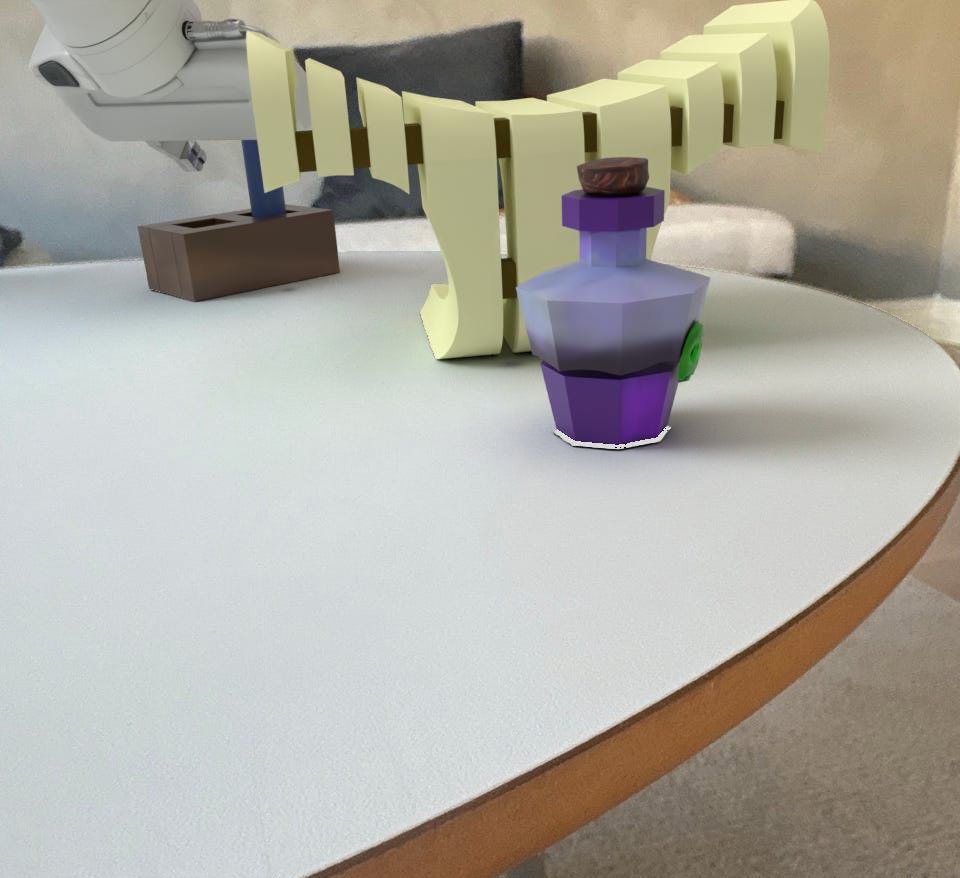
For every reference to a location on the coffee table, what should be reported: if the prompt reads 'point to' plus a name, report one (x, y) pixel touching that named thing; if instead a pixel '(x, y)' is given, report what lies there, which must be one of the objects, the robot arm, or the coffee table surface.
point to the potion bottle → (614, 312)
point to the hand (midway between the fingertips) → (243, 165)
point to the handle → (260, 185)
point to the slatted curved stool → (545, 148)
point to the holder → (238, 251)
